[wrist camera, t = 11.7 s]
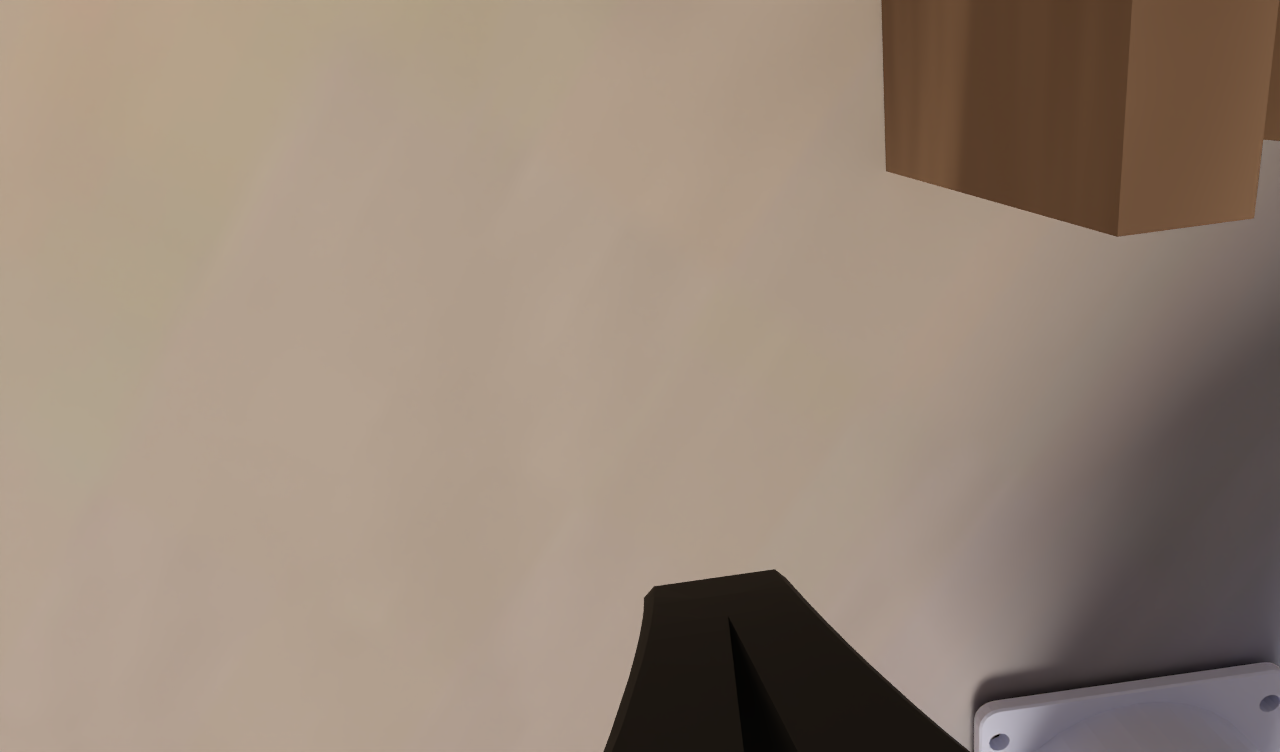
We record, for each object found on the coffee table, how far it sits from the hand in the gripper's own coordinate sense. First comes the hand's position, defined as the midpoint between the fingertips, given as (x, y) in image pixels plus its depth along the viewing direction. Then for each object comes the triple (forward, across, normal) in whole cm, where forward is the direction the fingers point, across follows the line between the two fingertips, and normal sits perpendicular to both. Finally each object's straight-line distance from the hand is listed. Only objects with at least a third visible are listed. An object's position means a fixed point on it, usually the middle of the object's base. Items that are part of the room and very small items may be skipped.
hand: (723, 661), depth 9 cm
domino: (+10, -6, -6) cm, 13 cm away
